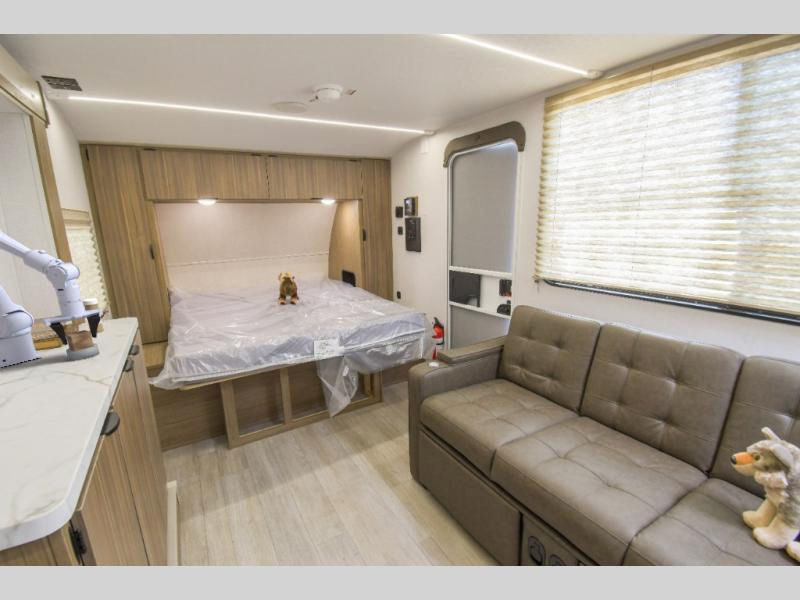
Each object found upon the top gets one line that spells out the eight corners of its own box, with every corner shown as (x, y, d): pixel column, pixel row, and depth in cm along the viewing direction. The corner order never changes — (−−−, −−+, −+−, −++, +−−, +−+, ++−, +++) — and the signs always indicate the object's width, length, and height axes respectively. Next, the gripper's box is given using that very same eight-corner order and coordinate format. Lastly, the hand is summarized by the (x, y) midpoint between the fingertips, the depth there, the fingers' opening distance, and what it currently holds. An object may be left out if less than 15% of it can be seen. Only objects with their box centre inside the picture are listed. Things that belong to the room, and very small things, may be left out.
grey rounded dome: (73, 362, 117) (70, 353, 116) (64, 357, 121) (62, 349, 120) (103, 354, 123) (101, 345, 122) (94, 349, 127) (92, 341, 127)
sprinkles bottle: (87, 332, 147) (79, 300, 144) (99, 329, 151) (92, 297, 148) (94, 333, 145) (86, 301, 142) (106, 330, 149) (99, 298, 146)
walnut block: (75, 351, 118) (71, 336, 117) (69, 348, 121) (65, 334, 119) (93, 346, 122) (90, 332, 121) (88, 343, 125) (84, 330, 123)
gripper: (44, 307, 109) (55, 350, 113) (102, 297, 121) (111, 336, 124) (37, 304, 113) (48, 345, 116) (94, 295, 125) (103, 333, 128)
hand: (80, 340), depth 121 cm, fingers open, 7 cm apart
